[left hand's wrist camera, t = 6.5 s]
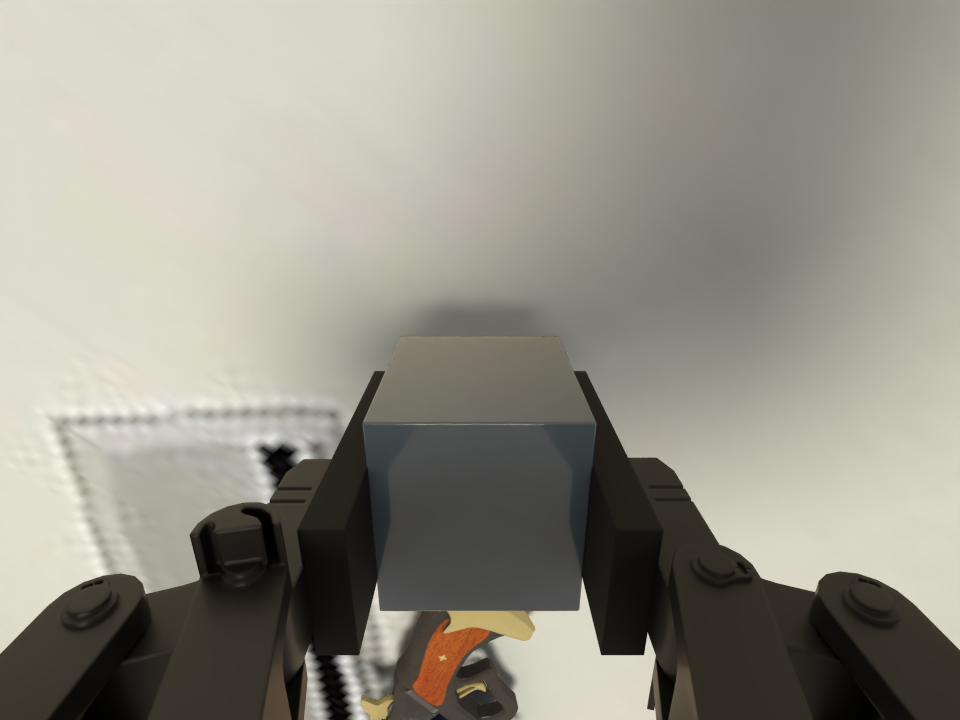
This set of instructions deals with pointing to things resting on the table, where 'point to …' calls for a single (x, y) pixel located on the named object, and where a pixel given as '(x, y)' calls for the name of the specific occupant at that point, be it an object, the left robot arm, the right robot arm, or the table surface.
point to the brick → (479, 475)
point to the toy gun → (451, 669)
